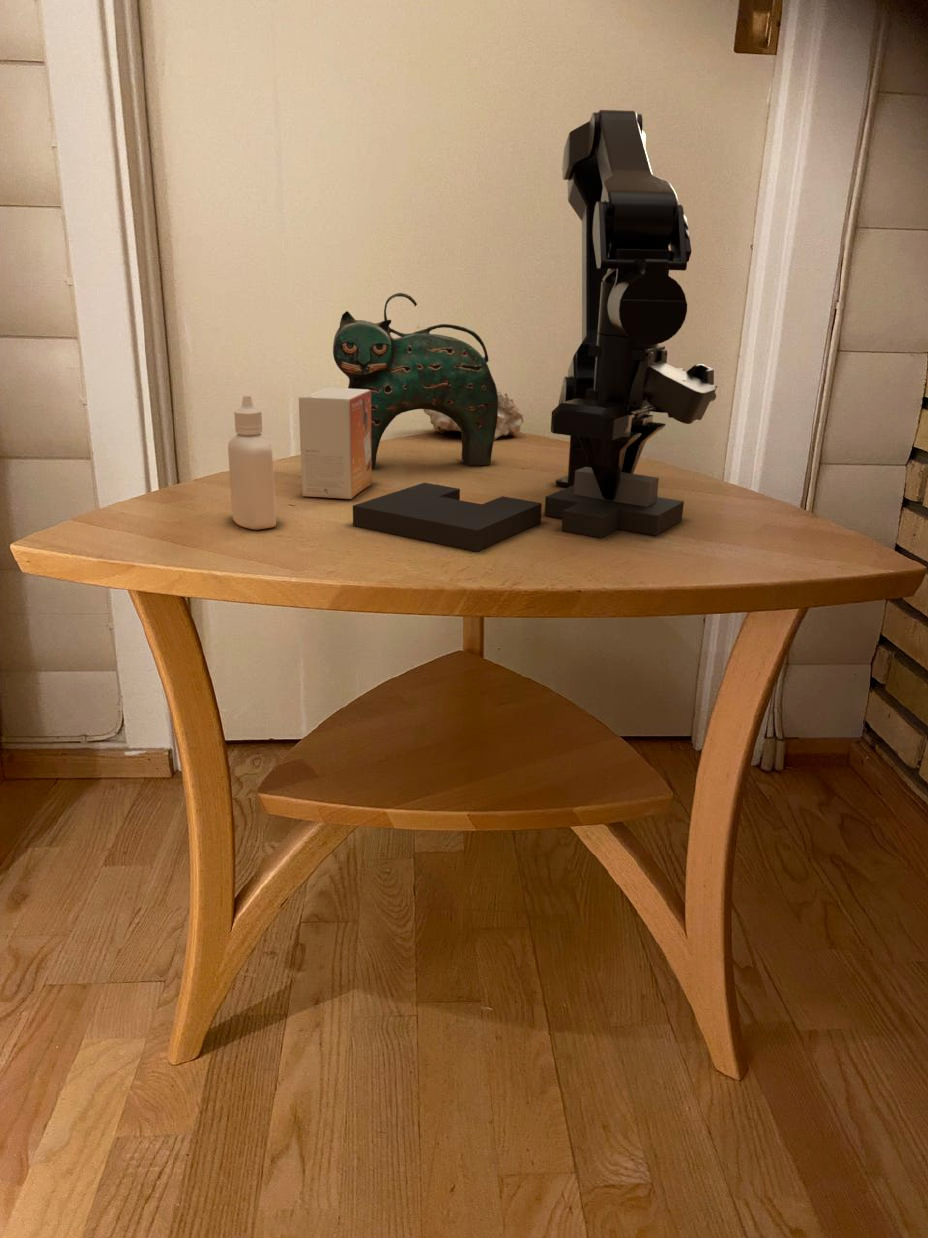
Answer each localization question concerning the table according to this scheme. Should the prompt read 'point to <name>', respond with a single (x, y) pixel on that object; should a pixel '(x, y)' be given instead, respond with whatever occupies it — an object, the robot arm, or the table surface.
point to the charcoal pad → (446, 516)
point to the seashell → (506, 421)
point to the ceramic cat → (420, 379)
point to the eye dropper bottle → (251, 471)
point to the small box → (335, 442)
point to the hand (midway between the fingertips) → (614, 496)
